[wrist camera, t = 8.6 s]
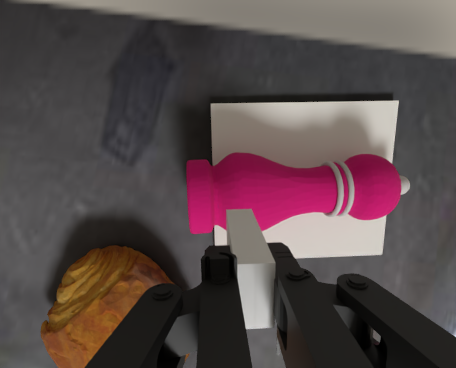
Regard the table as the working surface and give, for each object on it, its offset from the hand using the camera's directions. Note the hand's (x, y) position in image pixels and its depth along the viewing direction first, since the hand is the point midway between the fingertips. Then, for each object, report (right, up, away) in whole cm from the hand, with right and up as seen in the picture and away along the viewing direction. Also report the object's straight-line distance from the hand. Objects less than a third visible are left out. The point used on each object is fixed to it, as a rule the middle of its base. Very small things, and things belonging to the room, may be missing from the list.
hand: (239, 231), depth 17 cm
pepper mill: (-4, +2, +7) cm, 9 cm away
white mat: (+7, +3, +12) cm, 14 cm away
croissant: (-12, -11, +15) cm, 22 cm away
